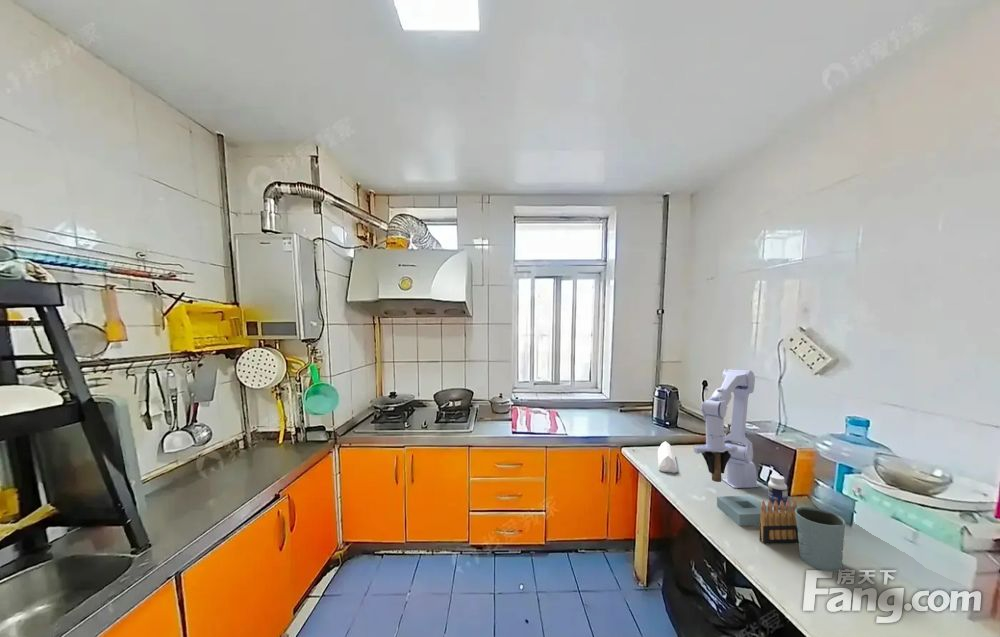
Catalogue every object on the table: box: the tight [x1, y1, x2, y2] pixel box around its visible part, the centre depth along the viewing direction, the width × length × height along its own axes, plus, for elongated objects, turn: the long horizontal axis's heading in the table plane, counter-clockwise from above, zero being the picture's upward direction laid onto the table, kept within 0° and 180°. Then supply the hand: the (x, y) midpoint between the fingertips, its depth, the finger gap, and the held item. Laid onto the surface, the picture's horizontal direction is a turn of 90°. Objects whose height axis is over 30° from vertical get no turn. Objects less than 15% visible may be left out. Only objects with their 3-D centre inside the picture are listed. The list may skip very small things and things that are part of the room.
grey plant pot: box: [795, 506, 846, 572], centre depth 100 cm, size 10×10×12 cm
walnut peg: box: [711, 452, 723, 483], centre depth 135 cm, size 3×3×10 cm
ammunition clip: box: [759, 499, 799, 545], centre depth 109 cm, size 11×2×12 cm, turn 89°
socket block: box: [716, 494, 773, 527], centre depth 124 cm, size 12×12×4 cm
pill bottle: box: [767, 473, 789, 509], centre depth 130 cm, size 5×5×10 cm
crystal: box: [657, 441, 679, 474], centre depth 170 cm, size 7×7×24 cm
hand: (716, 472), depth 135 cm, fingers closed on walnut peg, 3 cm apart
